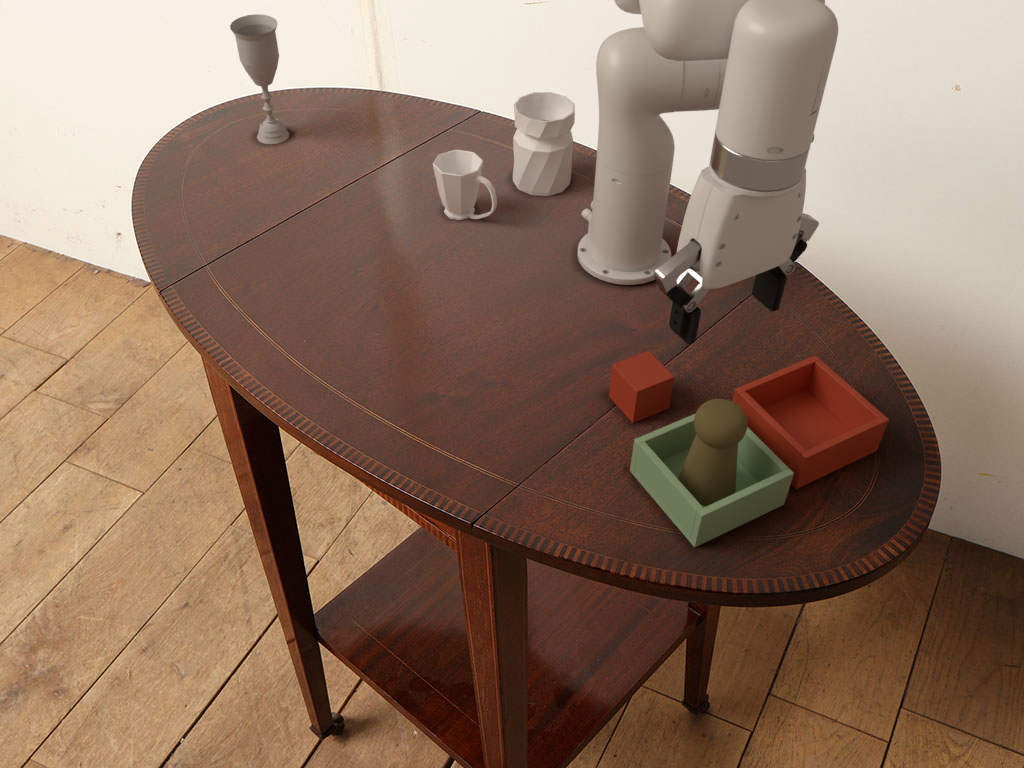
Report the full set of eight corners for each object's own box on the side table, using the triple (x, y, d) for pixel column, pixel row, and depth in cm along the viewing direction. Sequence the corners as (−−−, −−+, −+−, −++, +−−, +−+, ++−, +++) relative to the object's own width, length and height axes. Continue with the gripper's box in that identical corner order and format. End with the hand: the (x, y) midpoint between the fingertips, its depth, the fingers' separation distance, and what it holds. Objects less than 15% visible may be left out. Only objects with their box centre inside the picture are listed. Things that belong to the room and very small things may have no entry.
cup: (455, 192, 145) (454, 143, 139) (510, 216, 140) (511, 166, 135) (424, 213, 140) (421, 164, 135) (480, 239, 136) (479, 189, 131)
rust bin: (727, 420, 112) (734, 388, 108) (805, 386, 116) (815, 355, 112) (795, 489, 104) (805, 458, 101) (876, 451, 108) (889, 419, 105)
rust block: (608, 396, 114) (612, 364, 111) (644, 382, 116) (648, 350, 112) (632, 423, 111) (637, 391, 108) (669, 408, 113) (674, 376, 109)
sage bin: (629, 470, 106) (634, 439, 102) (715, 433, 110) (722, 401, 107) (694, 547, 99) (701, 516, 95) (784, 504, 103) (794, 473, 99)
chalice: (253, 125, 158) (232, 15, 146) (296, 123, 159) (279, 13, 146) (249, 148, 153) (227, 36, 140) (293, 146, 153) (276, 34, 141)
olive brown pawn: (729, 462, 106) (747, 388, 99) (740, 506, 102) (760, 432, 94) (673, 463, 106) (687, 389, 98) (682, 507, 102) (697, 433, 94)
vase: (553, 202, 143) (557, 128, 135) (501, 185, 146) (502, 111, 138) (580, 174, 149) (586, 101, 140) (530, 158, 152) (532, 86, 143)
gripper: (808, 111, 85) (769, 269, 97) (643, 161, 79) (623, 324, 91) (871, 151, 80) (822, 312, 92) (701, 208, 74) (672, 374, 86)
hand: (723, 318), depth 91 cm, fingers open, 9 cm apart
